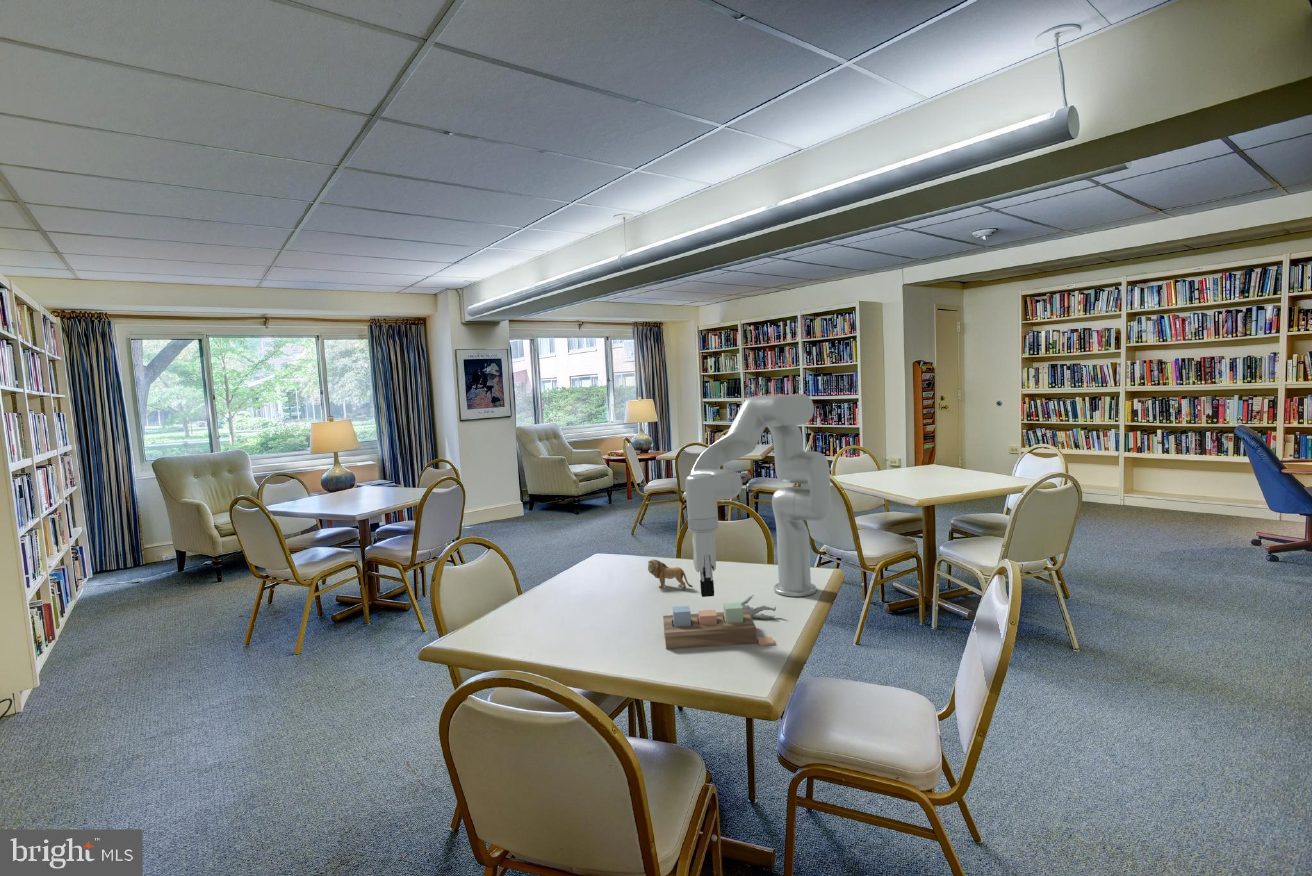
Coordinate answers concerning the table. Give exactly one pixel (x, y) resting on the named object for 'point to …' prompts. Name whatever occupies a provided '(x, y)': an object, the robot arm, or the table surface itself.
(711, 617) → the salmon pink rectangular block
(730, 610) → the mint green block
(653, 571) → the lion figurine
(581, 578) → the table surface
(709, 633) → the board
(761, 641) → the tile
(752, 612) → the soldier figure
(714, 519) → the robot arm
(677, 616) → the light blue block
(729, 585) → the table surface
